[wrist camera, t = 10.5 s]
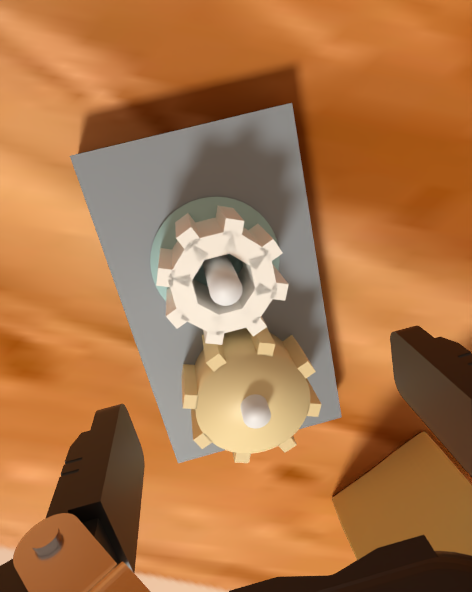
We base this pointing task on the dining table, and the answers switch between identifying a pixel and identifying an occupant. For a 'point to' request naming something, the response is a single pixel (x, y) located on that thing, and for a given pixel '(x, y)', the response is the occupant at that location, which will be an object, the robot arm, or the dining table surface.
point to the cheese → (408, 501)
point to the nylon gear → (195, 296)
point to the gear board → (189, 175)
